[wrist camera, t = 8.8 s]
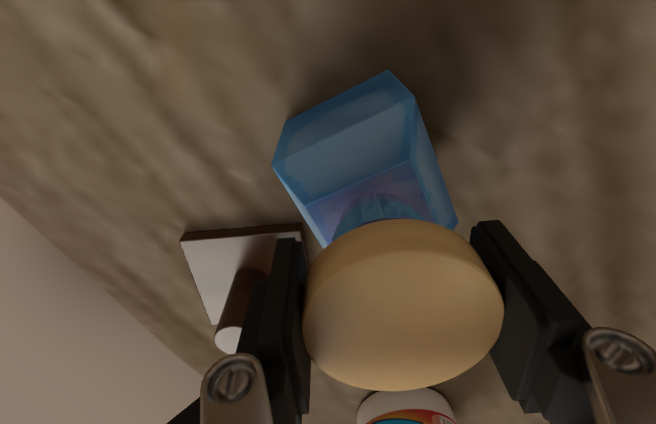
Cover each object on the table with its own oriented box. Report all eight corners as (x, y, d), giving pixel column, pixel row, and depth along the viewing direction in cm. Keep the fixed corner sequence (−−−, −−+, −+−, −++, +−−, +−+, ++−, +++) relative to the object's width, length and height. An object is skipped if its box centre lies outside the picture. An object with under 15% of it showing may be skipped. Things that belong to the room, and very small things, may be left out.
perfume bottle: (388, 69, 18) (471, 155, 8) (424, 166, 21) (520, 322, 11) (285, 121, 20) (242, 251, 9) (333, 206, 22) (340, 377, 12)
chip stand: (183, 232, 23) (143, 296, 18) (301, 222, 23) (294, 284, 18) (214, 315, 27) (189, 387, 22) (315, 308, 27) (313, 379, 22)
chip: (290, 226, 9) (285, 261, 8) (496, 209, 9) (524, 241, 7) (314, 356, 12) (312, 397, 10) (472, 346, 11) (490, 386, 10)
